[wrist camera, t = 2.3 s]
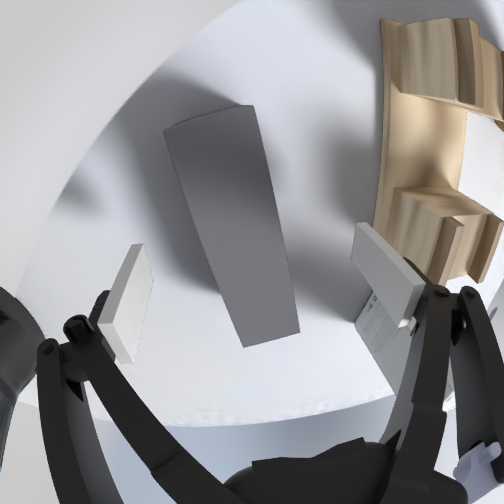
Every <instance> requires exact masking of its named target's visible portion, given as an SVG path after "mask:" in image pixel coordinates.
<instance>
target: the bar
mask: <svg viewBox="0 0 504 504" xmlns="http://www.w3.org/2000/svg"><path fill="white" fill-rule="evenodd" d="M163 134H164V137H165V140H166V143H167V146H168V149H169V152H170V155H171V158H172V161H173V164H174V167H175V170H176V173H177V176H178V179H179V182H180V185H181V188H182V191H183V194H184V197H185V200H186V202H187V205H188V208H189V211H190V214H191V216H192V219H193V222H194V225H195V227H196V230H197V233H198V236H199V238H200V241H201V244H202V246H203V249H204V252H205V254H206V257H207V260H208V262H209V265H210V267H211V270H212V272H213V275H214V278H215V280H216V283H217V285H218V288H219V290H220V293H221V295H222V298H223V300H224V303H225V305H226V308H227V310H228V312H229V315H230V317H231V320H232V322H233V325H234V327H235V329H236V332H237V334H238V336H239V339H240V341H241V343H242V346H243V348H245V347H249V346H253V345H257V344H261V343H264V342H268V341H272V340H276V339H279V338H283V337H286V336H290V335H293V334H297V333H300V328H299V322H298V316H297V310H296V305H295V299H294V293H293V288H292V282H291V277H290V271H289V266H288V261H287V256H286V251H285V245H284V240H283V235H282V230H281V225H280V220H279V216H278V211H277V206H276V201H275V197H274V192H273V187H272V183H271V178H270V174H269V169H268V165H267V160H266V156H265V151H264V147H263V143H262V138H261V134H260V130H259V126H258V122H257V117H256V113H255V109H254V106H252V105H240V106H235V107H231V108H227V109H223V110H220V111H216V112H212V113H209V114H205V115H202V116H198V117H195V118H192V119H189V120H185V121H182V122H179V123H177V124H175V125H173V126H171V127H170V128H168V129H166V130H164V131H163Z"/></svg>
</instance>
